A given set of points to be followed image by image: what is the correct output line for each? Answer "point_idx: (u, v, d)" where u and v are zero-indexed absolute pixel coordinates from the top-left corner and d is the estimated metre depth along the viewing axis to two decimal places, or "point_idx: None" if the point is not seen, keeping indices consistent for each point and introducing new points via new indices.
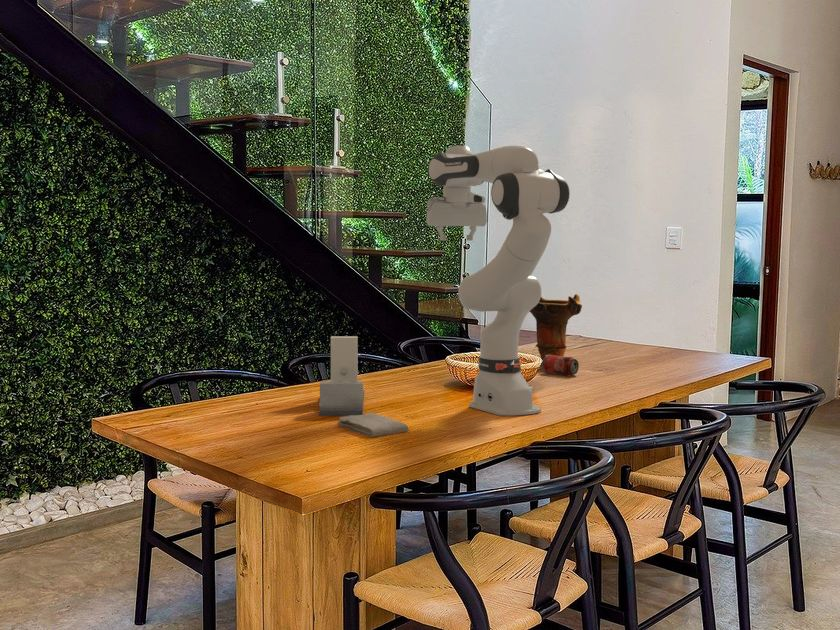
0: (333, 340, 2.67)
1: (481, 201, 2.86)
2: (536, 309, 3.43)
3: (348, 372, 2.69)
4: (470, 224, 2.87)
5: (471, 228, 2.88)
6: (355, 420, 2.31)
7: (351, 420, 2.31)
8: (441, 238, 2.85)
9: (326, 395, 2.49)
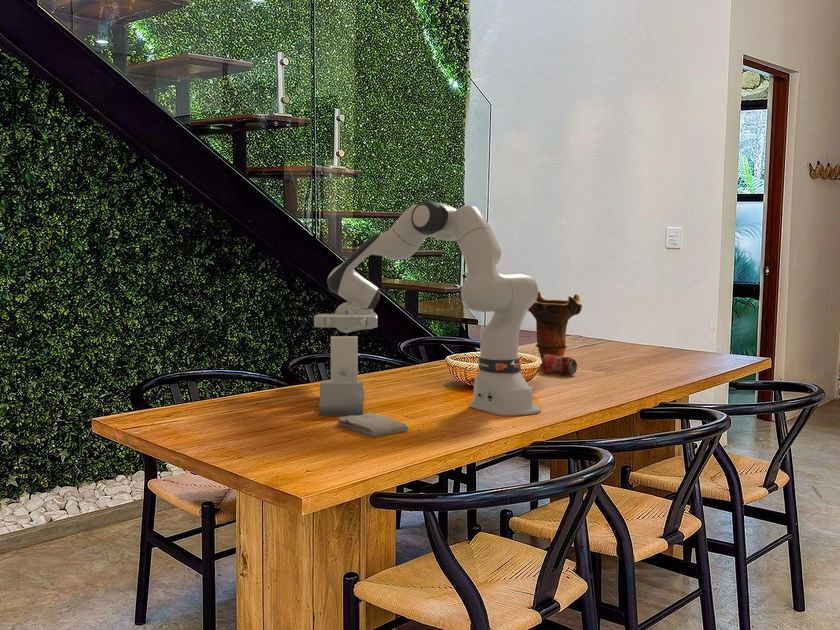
0: (333, 340, 2.67)
1: (368, 309, 2.88)
2: (536, 309, 3.43)
3: (348, 372, 2.69)
4: (358, 316, 2.81)
5: None
6: (355, 420, 2.31)
7: (351, 420, 2.31)
8: None
9: (326, 395, 2.49)
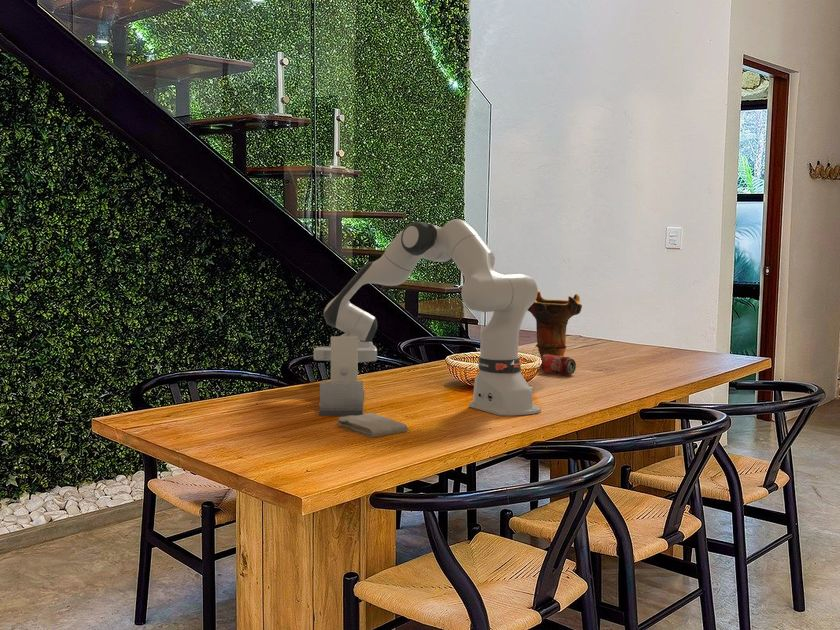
0: (333, 340, 2.67)
1: (368, 342, 2.90)
2: (536, 309, 3.43)
3: (348, 372, 2.69)
4: (358, 349, 2.82)
5: None
6: (354, 420, 2.31)
7: (350, 420, 2.31)
8: None
9: (326, 395, 2.49)
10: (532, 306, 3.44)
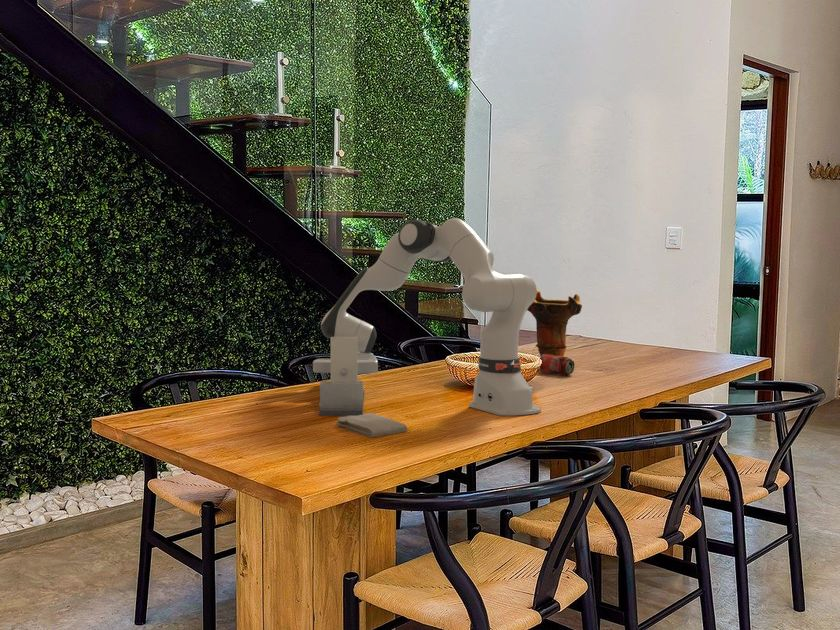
0: (332, 341, 2.66)
1: (368, 353, 2.83)
2: (536, 309, 3.43)
3: (348, 373, 2.68)
4: (358, 361, 2.76)
5: None
6: (354, 420, 2.31)
7: (350, 420, 2.31)
8: None
9: (326, 395, 2.49)
10: (532, 306, 3.44)
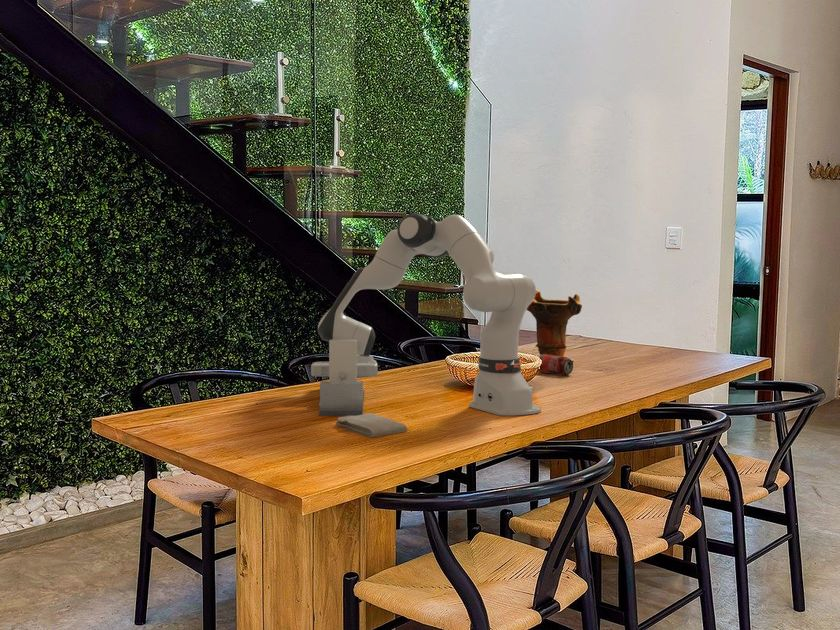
0: (331, 344, 2.60)
1: (368, 356, 2.76)
2: (536, 309, 3.43)
3: (347, 376, 2.61)
4: (357, 364, 2.69)
5: None
6: (353, 420, 2.31)
7: (349, 420, 2.30)
8: None
9: (326, 395, 2.49)
10: (532, 306, 3.44)
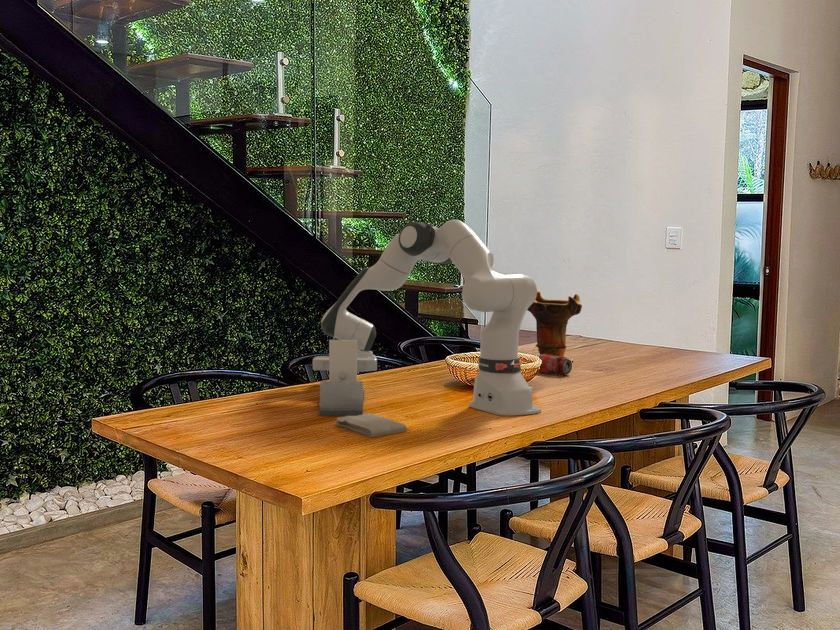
0: (331, 344, 2.60)
1: (368, 351, 2.86)
2: (536, 309, 3.43)
3: (347, 376, 2.61)
4: (357, 359, 2.78)
5: None
6: (353, 420, 2.31)
7: (349, 421, 2.30)
8: None
9: (326, 395, 2.49)
10: (532, 306, 3.44)
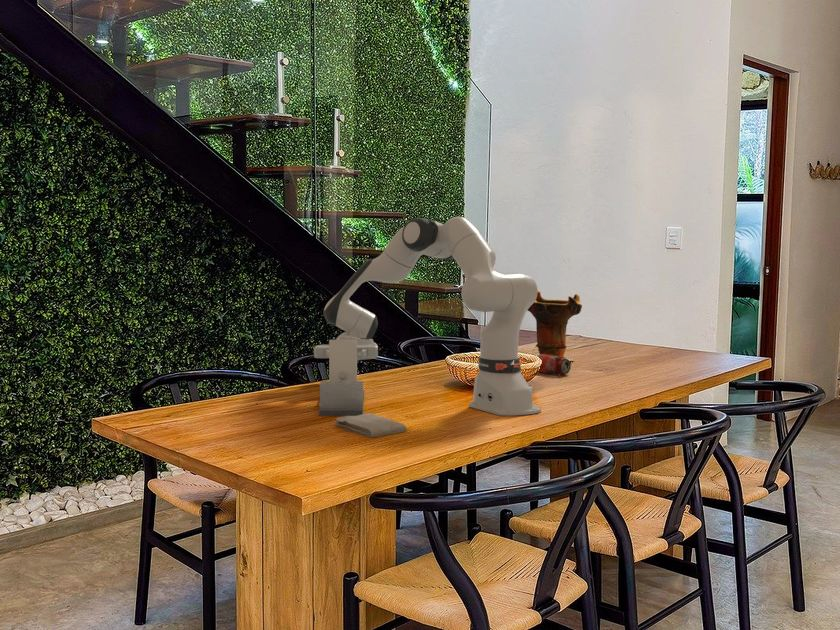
0: (331, 344, 2.60)
1: (368, 339, 2.88)
2: (536, 309, 3.43)
3: (347, 376, 2.61)
4: (358, 346, 2.81)
5: None
6: (353, 421, 2.31)
7: (349, 421, 2.30)
8: (328, 353, 2.76)
9: (326, 395, 2.49)
10: (532, 306, 3.44)
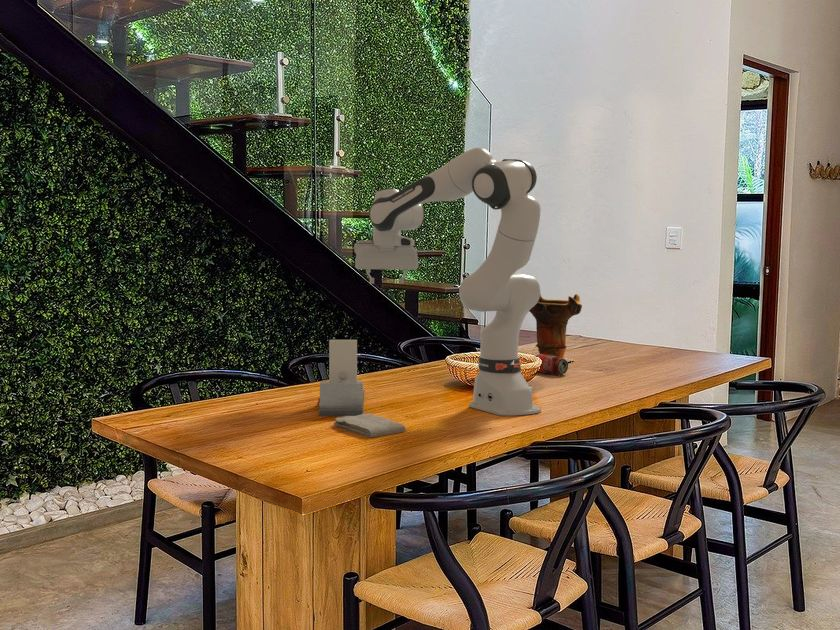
0: (331, 344, 2.60)
1: (409, 244, 2.81)
2: (536, 309, 3.43)
3: (347, 376, 2.61)
4: (399, 267, 2.83)
5: None
6: (352, 421, 2.30)
7: (348, 421, 2.30)
8: None
9: (326, 395, 2.49)
10: None
